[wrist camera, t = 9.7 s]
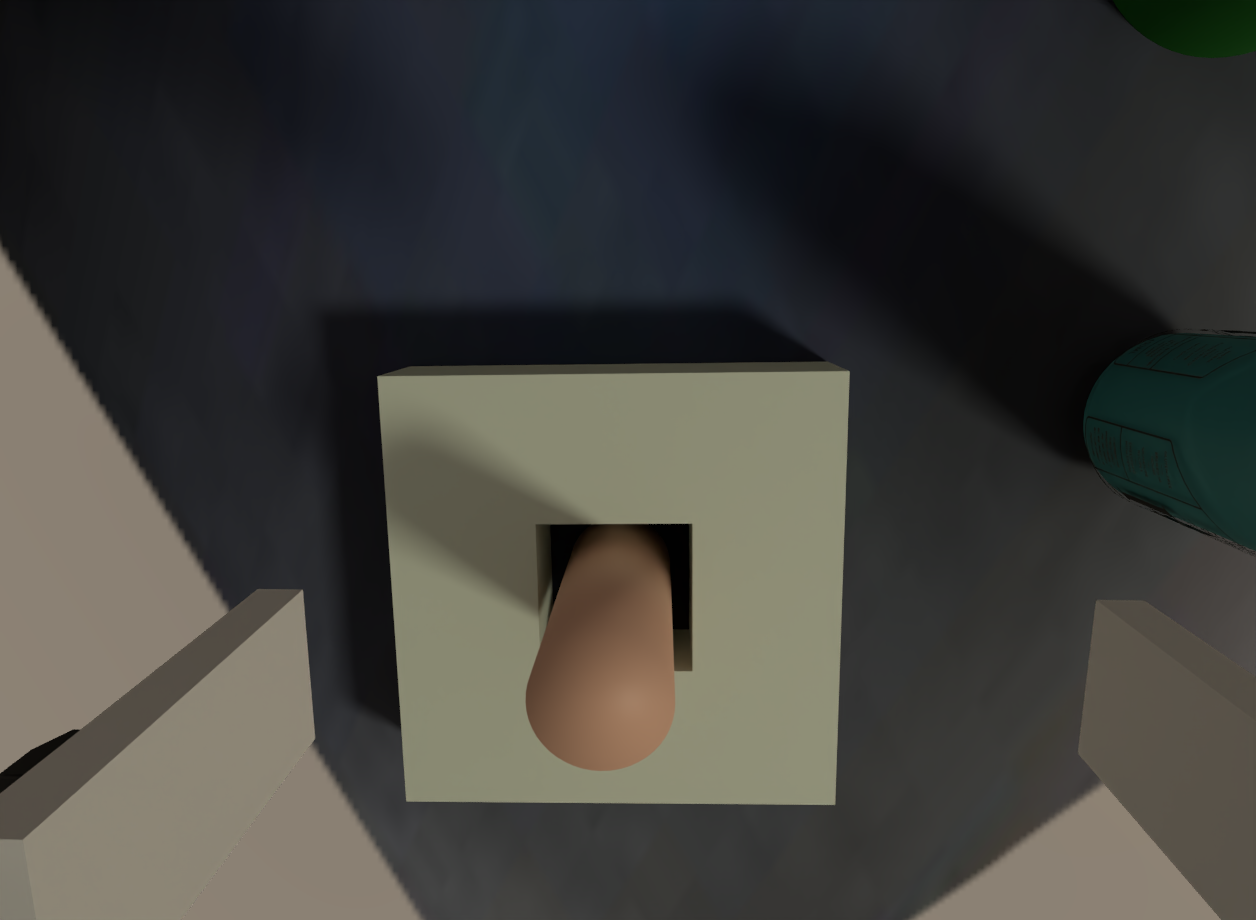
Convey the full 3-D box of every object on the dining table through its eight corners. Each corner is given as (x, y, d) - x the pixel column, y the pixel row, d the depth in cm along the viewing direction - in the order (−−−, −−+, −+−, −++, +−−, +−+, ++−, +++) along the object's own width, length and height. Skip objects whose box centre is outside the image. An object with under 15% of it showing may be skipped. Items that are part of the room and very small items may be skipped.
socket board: (410, 366, 34) (377, 376, 30) (827, 361, 33) (849, 370, 29) (433, 747, 37) (406, 801, 33) (816, 749, 36) (834, 804, 32)
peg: (569, 516, 35) (523, 631, 23) (669, 515, 35) (675, 631, 23) (571, 611, 36) (528, 770, 24) (670, 611, 35) (675, 771, 24)
